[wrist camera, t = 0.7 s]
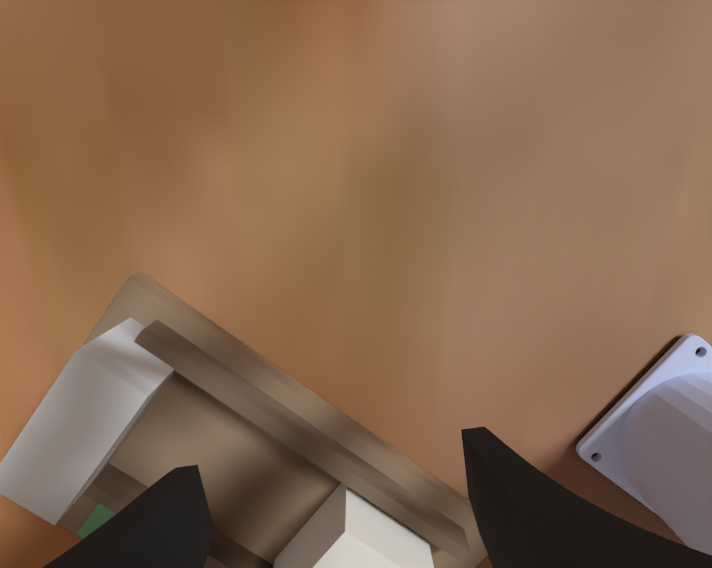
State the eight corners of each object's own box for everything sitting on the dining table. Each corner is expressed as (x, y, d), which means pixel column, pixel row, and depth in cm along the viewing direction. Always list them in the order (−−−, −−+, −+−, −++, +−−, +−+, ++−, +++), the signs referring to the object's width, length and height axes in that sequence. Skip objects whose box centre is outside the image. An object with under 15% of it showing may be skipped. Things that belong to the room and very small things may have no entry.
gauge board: (497, 520, 24) (536, 611, 19) (348, 672, 26) (347, 791, 21) (141, 272, 21) (72, 301, 16) (8, 469, 23) (-90, 550, 18)
